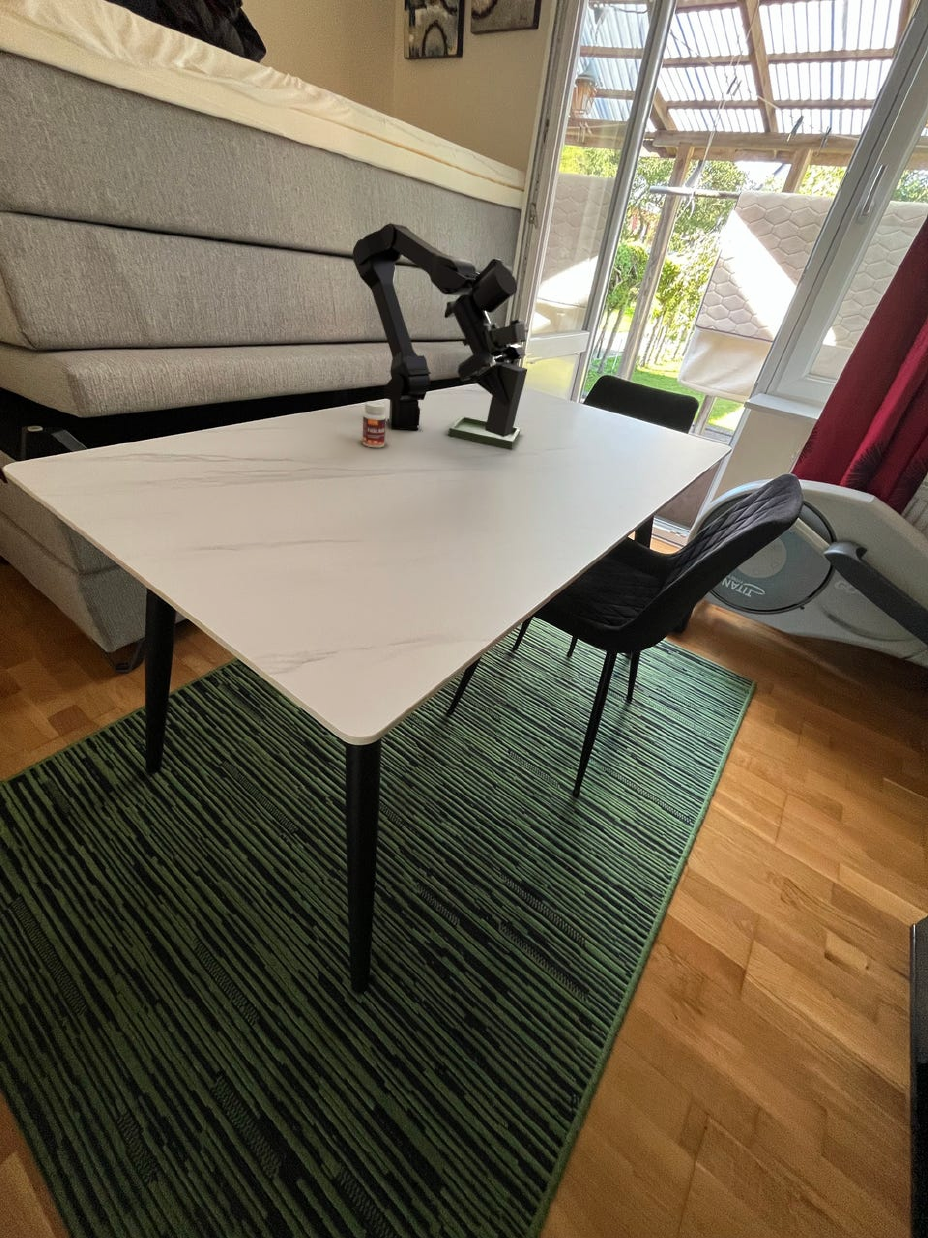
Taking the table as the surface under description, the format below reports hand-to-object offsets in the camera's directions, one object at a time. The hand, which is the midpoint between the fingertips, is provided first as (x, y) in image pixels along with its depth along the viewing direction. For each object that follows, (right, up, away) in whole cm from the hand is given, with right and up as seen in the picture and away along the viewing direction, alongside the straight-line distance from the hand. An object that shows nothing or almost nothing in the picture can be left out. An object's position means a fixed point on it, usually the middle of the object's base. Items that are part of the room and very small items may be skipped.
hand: (511, 402), depth 105 cm
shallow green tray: (-4, +1, +23) cm, 23 cm away
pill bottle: (-29, -7, +7) cm, 31 cm away
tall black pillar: (-2, -4, +5) cm, 7 cm away
